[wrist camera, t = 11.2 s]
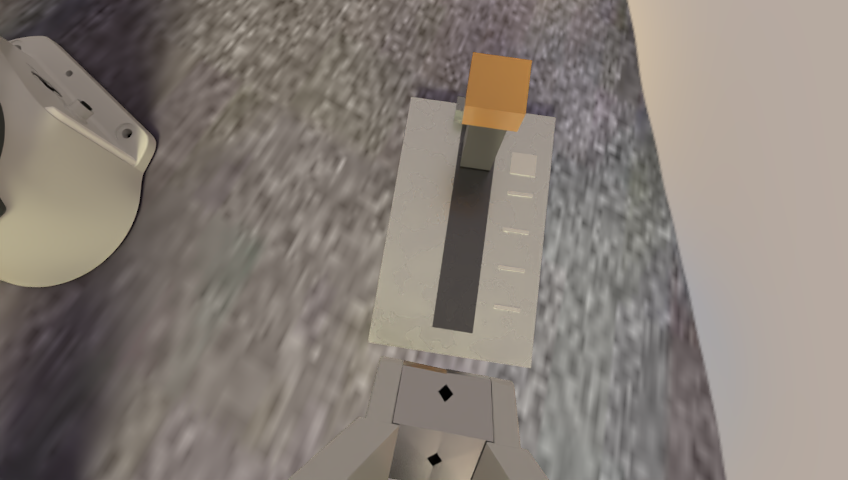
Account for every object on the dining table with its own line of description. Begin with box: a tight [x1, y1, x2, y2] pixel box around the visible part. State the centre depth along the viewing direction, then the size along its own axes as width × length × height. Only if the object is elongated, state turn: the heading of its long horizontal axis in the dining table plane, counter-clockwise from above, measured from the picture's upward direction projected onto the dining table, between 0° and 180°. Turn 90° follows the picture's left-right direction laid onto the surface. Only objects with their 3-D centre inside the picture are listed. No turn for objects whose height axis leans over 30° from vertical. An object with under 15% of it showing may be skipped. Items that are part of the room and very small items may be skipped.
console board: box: [368, 96, 556, 368], centre depth 34 cm, size 20×12×4 cm, turn 171°
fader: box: [460, 52, 532, 170], centre depth 30 cm, size 3×3×10 cm
